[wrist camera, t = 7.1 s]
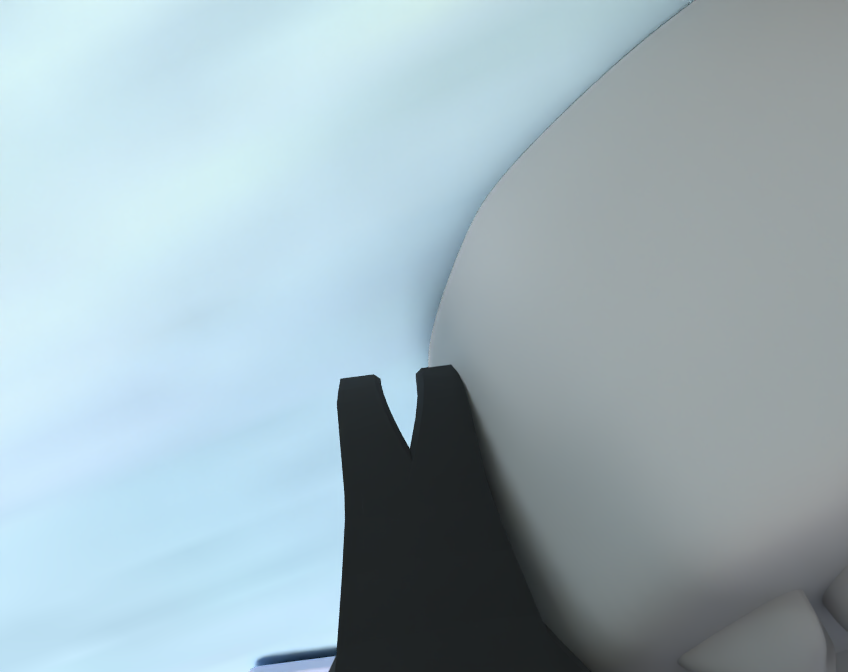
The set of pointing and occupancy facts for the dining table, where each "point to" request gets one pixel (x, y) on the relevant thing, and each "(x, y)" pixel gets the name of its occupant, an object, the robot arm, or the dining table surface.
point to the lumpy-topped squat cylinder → (675, 348)
